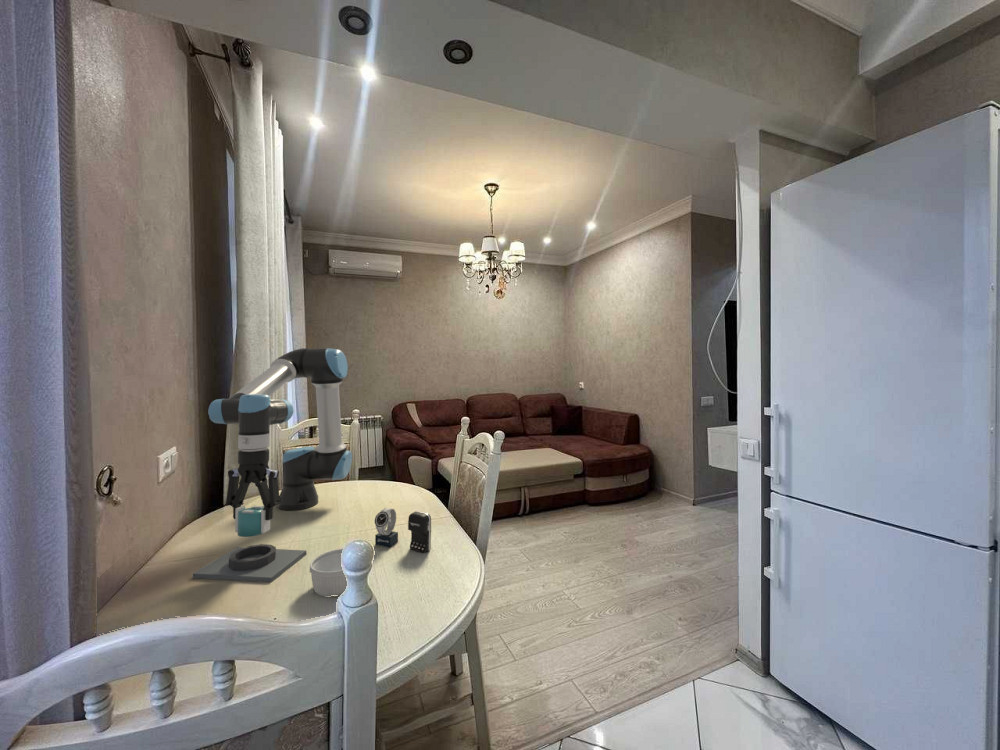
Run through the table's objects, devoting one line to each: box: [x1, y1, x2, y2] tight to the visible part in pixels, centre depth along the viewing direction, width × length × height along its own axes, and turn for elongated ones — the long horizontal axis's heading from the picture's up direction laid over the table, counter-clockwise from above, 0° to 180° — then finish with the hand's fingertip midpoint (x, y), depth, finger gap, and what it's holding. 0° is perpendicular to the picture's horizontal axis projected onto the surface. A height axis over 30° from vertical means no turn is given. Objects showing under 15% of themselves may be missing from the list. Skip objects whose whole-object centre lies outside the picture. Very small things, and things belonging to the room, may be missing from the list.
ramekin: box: [309, 548, 347, 597], centre depth 102 cm, size 13×13×7 cm
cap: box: [237, 505, 264, 538], centre depth 112 cm, size 7×7×7 cm
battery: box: [407, 510, 432, 554], centre depth 123 cm, size 7×4×11 cm, turn 60°
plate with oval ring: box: [191, 543, 307, 583], centre depth 112 cm, size 16×22×4 cm
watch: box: [374, 507, 399, 548], centre depth 127 cm, size 6×8×11 cm
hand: (252, 530), depth 112 cm, fingers closed on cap, 7 cm apart
